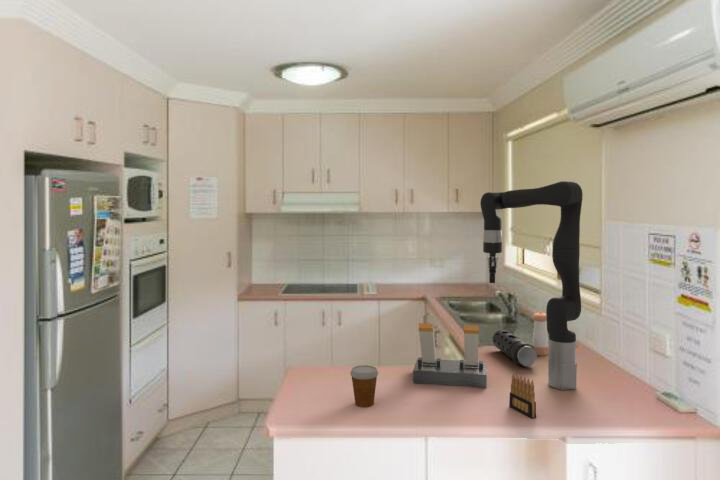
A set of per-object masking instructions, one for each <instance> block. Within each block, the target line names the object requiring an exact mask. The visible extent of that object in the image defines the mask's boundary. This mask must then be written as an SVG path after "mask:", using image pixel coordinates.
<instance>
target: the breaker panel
mask: <svg viewBox="0 0 720 480" xmlns="http://www.w3.org/2000/svg"><path fill="white" fill-rule="evenodd" d="M412 384H418V385H429V386H430V385H433V386H447V387H463V388H477V389H487V385H488V384H487V362H486V361H483V360H478V367H464V359H459V360H458V359H457V360H456V359H454V360H453V359H441V358H439V357H438V358H437V357H436V365H430V364H422V356H420V357H418V358H417V359H416V361H415V363H414V367H413V369H412Z"/></svg>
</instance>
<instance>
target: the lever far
mask: <svg viewBox="0 0 720 480" xmlns="http://www.w3.org/2000/svg"><path fill="white" fill-rule="evenodd" d="M434 333H435V331H434V323H422V322H420V323H418V334H419V335H418V336H419V342H420V352H421V358H422V364H430V365H436V359H437V357H436V345H435V334H434Z"/></svg>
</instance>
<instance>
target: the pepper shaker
mask: <svg viewBox="0 0 720 480" xmlns="http://www.w3.org/2000/svg"><path fill="white" fill-rule="evenodd" d="M532 320H533V333H532V344H531V345H532V346H533V347H534V348H535V350H536V354H537V356H549V334H548V331H547V317H546V313H545V312H543V311H541V310H540V311H539V312H535V313H533V314H532Z"/></svg>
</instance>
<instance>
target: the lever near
mask: <svg viewBox="0 0 720 480" xmlns="http://www.w3.org/2000/svg"><path fill="white" fill-rule="evenodd" d="M479 327H480V326H479V325H466V324H465V325H463V339H464V340H463V344H464V348H463V350H464V351H463V352H464V354H463V355H464V356H463V357H464V359H463V360H464V367H478V362H479V333H480V329H479Z"/></svg>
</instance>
